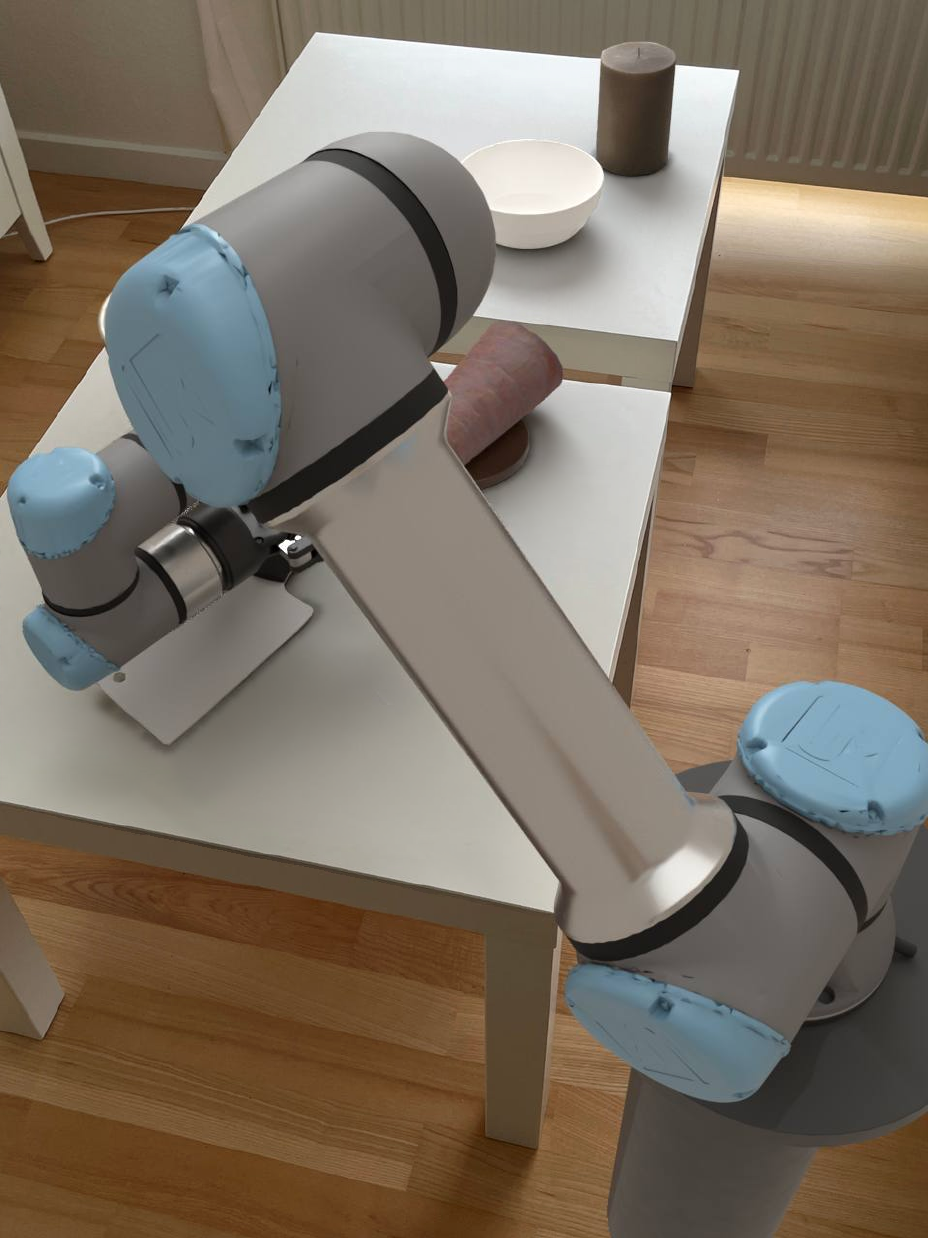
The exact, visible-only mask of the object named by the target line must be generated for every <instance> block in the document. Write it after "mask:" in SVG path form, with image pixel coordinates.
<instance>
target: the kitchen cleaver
mask: <svg viewBox="0 0 928 1238" xmlns="http://www.w3.org/2000/svg"><path fill="white" fill-rule="evenodd" d="M291 574H293V572H291V570H290V565H289V562H288V561H287V560H286V559H285V558H284V557H283V556H282V555H281V554H277V555H273V556H270V557H268V558H267V559H265V561H264V562H263V563H262V565H261V566H260V568H259V569H258V571H257V572H256V573H255V574H253V575H252V576H250V577H249V578H247V579H246V580H245V581H243V582H242V583H240V584H239V585H237V586H236V587H235V588H233V589H232V590H230V591H225V593H224V594H222V595H221V596H220V598H218V599H217V600H215V601H214V602H213V603H211V604H210V605H208V606H207V607H205V608H204V609H203V610H201V611H200V612H198V613H197V614H195V615H194V616H193V617H191V618H190V619H188V620H187V621H185V622H184V623H182V624H181V625H179V626H178V627H177V628H175V629H174V630H172V631H171V632H170V633H168V634H167V635H165V636H164V637H163V638H161V639H160V640H158V641H157V642H156V643H154V644H153V645H151V646H150V647H149V648H147V649H146V650H144V651H143V652H142V653H140V654H139V655H137V656H136V657H135V658H133V659H132V660H130V661H129V662H128V663H126V664H125V665H123V666H122V667H120V668H121V669H120V670H119V671H117V672H113V673H112V674H110V675H108V676H107V677H105V678H103V679H102V680H100V681H98V682H97V683H96V684H97V686H98V687H99V688H100V689H101V690H102V692H104V693H105V694H106V695H107V696H108V697H109V698H110V699H111V700H112V701H113V703H115V704H116V705H117V706H118V707H120V708H121V710H123V711H124V712H125V713H126V714H127V715H128V716H130V717H131V718H132V719H133V720H135V722H137V723H139V725H141V726H142V727H143V728H145V729H146V730H147V731H148V732H149V733H150V734H152V736H154V737H155V739H157V740H158V741H159V742H160V743H161V744H163V745H164V746H171V745H173V743H174V742H176V741H177V740H178V739H179V738H180V737H181V736H182V735H184V734H185V733H187V731H189V729H191V728H192V727H193V726H194V725H195V724H197V723H198V722H199V721H200V720H201V719H202V718H204V717H205V716H206V715H207V714H208V713H210V711H211V710H213V708H214V707H216V706H217V705H218V704H219V703H220V702H222V700H223V699H224V698H226V697H227V696H228V695H229V694H230V693H231V692H232V691H234V690H235V688H237V687H238V686H239V685H240V684H241V683H242V682H243V681H245V679H247V678H248V677H249V676H250V675H251V674H252V673H253V672H254V671H255V670H257V669H258V667H260V666H261V665H262V664H263V663H264V662H265V661H267V659H268V658H270V657H271V656H272V655H273V654H274V653H275V652H276V651H277V650H278V649H280V648H281V647H282V646H284V644H285V643H287V642H288V641H289V640H290V639H291V638H292V637H293V636H294V635H295V634H296V633H297V632H298V631H300V629H301V628H302V627H303V626H305V624H306V623H308V622H309V620H311V617H312V616H313V615H314V607H312V606H311V605H310V604H307V603H305V602H303V601H302V600H300V599H298V598H297V597H295V596H293V594H291V593H290V592H288V590H287V589H286V587H285V584H286V582H287V580H288V579H289V577H290V576H291ZM119 674H120V675H121V674H123V675H124V676H125V678H124V680H123V681H115V676H117V675H119Z"/></svg>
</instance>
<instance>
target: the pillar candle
mask: <svg viewBox="0 0 928 1238" xmlns="http://www.w3.org/2000/svg"><path fill="white" fill-rule="evenodd" d="M676 64H677V56H676V53H675V52H674V51H673V50H672V49H671V48H669V47H667V46H665V45H663V44H660V43H657V42H651V41H630V42H629V41H627V42H626V41H625V42H622V43H618V44H614V45H611V46H610V47H608V48H606V49H603V50H602V51H601V55H600V68H599V85H598V87H599V88H598V107H597V121H596V139H595V140H596V141H595V143H596V145H595V150H596V151H595V153H596V154H595V159H596V161H597V162H598V163H599V164H600V166H601V168H602V169H604V170H607V171H609V172H610V173H613V174H616V175H620V176H630V177H631V176H641V175H643V176H644V175H650V174H653V173H656V172H658V171H659V170H661V169H662V168H664V166H666V164H667V163H668V157H669V147H670V145H669V144H670V136H671V124H672V112H673V111H672V110H673V102H674V101H673V99H674V90H675V89H674V88H675V76H676Z"/></svg>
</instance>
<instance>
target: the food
mask: <svg viewBox="0 0 928 1238" xmlns="http://www.w3.org/2000/svg"><path fill="white" fill-rule="evenodd" d="M563 368H564V367H563V365H562V363H561V361H560V359H559V357H558V355H557V354H556V353H555V352H554V350H553V349H552V348H551V347H550V345H549V344H548V343H547V342H546V341H545V340H544V339H542V337H540V336H539V335H538V333H537V334H536V333H535V332H533V331H531V330H529V329H528V328H527V327H526V326H524V325H523V324H521V323H518V322H516V321H496V322H493V323H492V324H491V325H490V326H489V327H488V328H487V329H486V330H485V332H483V334H481V336H480V337H479V339H478V341H476V343H475V344H473V346H472V347H471V348H470V350H469V351H468V352H467V354H466V355H465V356H464V357H463V359H462V360H461V361H460V362H459V363H457V365H456V366H455V367H454V368H453V370H452V371H451V372H450V373H449V374H448V376H447V378H445V379H444V380H443V382H444V383H445V385H446V386H447V388H448V389H449V391H450V393H451V395H452V400H451V406H450V412H449V417H448V423H447V429H446V433H447V442H448V443H449V445H450V446H451V448H452V449H453V451H454V452H455V453H456V455H457V456H458V458H459V459H460V461H461V462H462V464H463V465H465V464H467V463H468V462H469V461H470V460H471V459H472V458H473V457H475V456H477V455H478V454H479V453H480V452H481V451H483V450H484V449H485V448H486V447H487V446H489V445H490V444H491V443H493V442H494V441H495V440H496V439H497V438H498V437H500V436H501V435H502V434H504V433H505V432H506V431H507V430H508V429H509V428H511V427H512V426H513V425H514V424H515V423H517V422H518V421H519V420H520V419H521V418H522V419H523V418H524V417H525V416H526V415H528V414H529V413H530V412H532V411H533V410H534V409H535V408H537V407H538V406H540V404H542V403H544V401H545V400H546V399H547V398H548V397H549V396H550V395H552V393H553V392H554V391H556V390H557V389H558V388H559V387H560V386H562V383H563V379H564V372H563V370H564V369H563Z"/></svg>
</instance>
